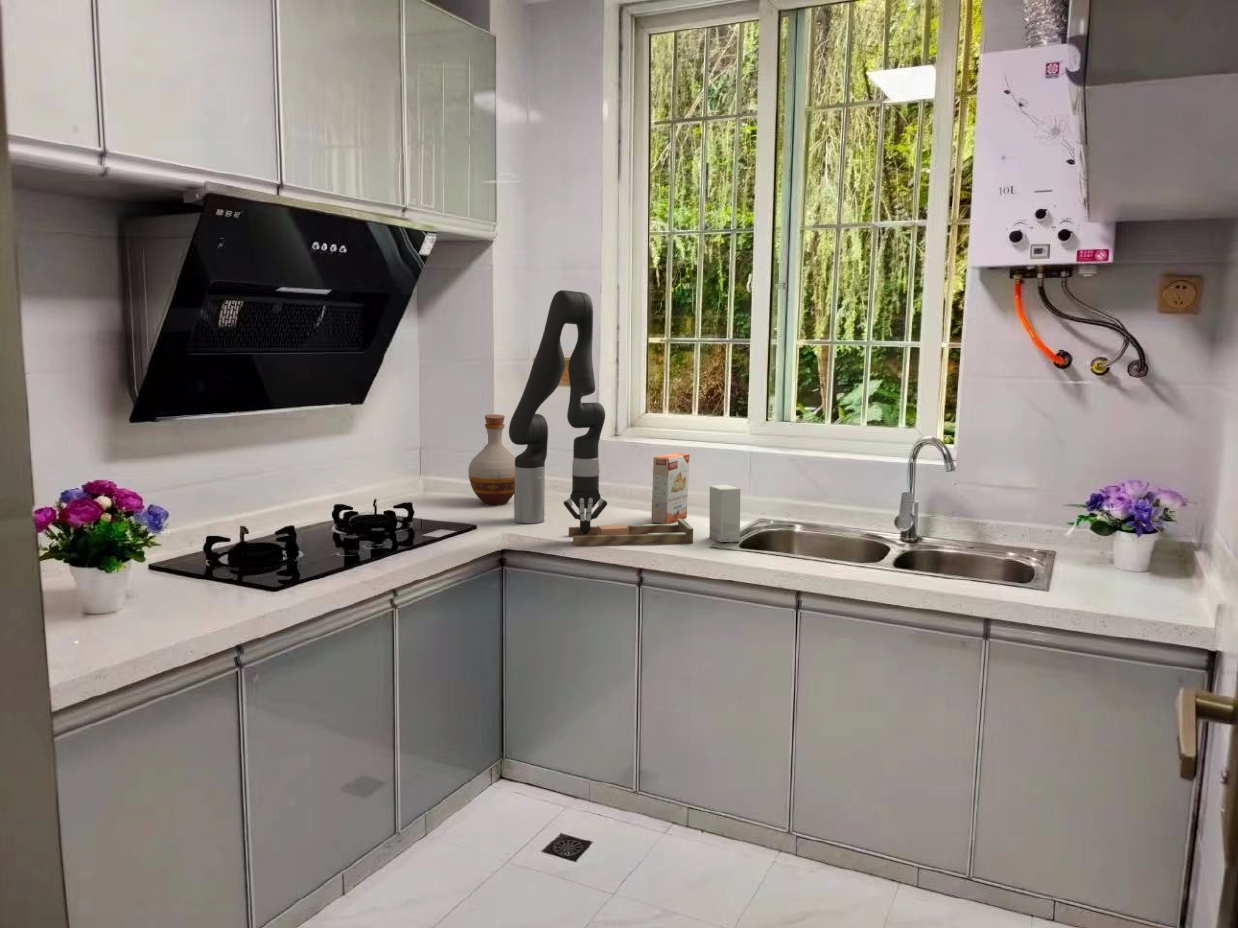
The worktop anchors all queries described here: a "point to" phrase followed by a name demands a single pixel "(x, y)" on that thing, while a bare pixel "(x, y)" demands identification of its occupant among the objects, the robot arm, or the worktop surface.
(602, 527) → the terracotta block
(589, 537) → the track
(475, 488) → the jug
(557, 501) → the worktop surface
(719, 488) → the skincare box
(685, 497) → the cracker box
